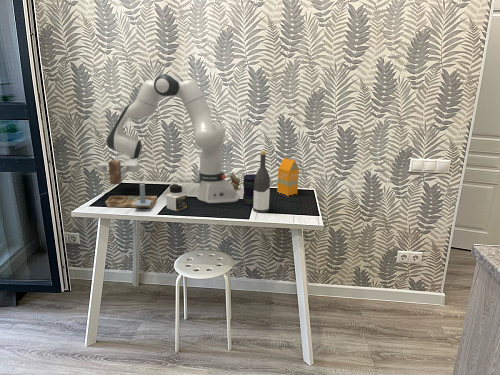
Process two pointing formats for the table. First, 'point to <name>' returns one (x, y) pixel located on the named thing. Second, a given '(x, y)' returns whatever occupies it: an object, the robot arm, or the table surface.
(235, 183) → the chocolate bunny
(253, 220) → the table surface
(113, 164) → the walnut block
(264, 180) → the wine bottle
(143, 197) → the grey post on base
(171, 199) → the medicine bottle
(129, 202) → the board
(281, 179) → the orange juice
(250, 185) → the storage jar
